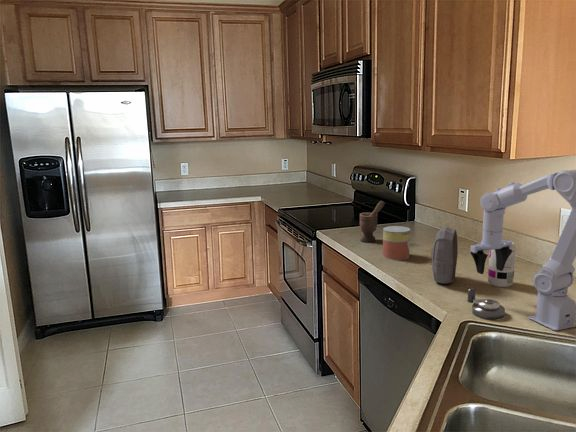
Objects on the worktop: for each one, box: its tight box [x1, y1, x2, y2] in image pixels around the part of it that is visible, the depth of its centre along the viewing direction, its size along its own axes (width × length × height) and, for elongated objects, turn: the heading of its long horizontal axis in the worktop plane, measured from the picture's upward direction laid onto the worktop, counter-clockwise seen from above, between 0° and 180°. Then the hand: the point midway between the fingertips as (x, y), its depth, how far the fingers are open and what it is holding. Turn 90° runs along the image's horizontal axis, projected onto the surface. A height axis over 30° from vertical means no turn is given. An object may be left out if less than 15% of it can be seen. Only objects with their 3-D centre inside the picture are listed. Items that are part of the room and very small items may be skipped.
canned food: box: [382, 225, 411, 261], centre depth 201 cm, size 11×11×12 cm
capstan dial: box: [467, 287, 501, 310], centre depth 143 cm, size 10×6×4 cm, turn 41°
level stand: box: [471, 303, 506, 321], centre depth 142 cm, size 9×9×2 cm
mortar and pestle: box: [359, 200, 386, 243], centre depth 227 cm, size 12×9×20 cm
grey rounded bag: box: [430, 226, 459, 284], centre depth 170 cm, size 15×8×20 cm, turn 153°
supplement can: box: [487, 239, 517, 288], centre depth 165 cm, size 8×8×15 cm
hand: (489, 271), depth 151 cm, fingers open, 7 cm apart
